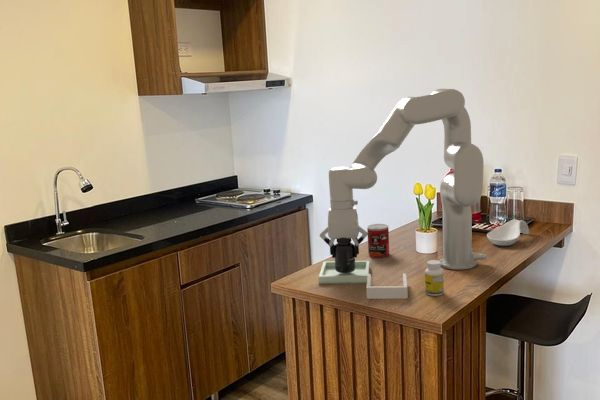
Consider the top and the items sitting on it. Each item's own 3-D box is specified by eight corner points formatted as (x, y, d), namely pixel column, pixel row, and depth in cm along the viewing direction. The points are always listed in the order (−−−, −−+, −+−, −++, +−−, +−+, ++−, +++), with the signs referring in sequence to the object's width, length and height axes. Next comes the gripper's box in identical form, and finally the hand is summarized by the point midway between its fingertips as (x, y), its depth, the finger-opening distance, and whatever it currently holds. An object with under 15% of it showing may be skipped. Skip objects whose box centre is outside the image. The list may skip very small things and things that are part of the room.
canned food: (366, 257, 213) (364, 228, 211) (371, 251, 221) (370, 223, 219) (386, 258, 211) (385, 229, 208) (391, 252, 218) (390, 223, 216)
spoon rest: (511, 250, 211) (511, 231, 210) (481, 245, 219) (481, 227, 218) (537, 235, 227) (538, 218, 226) (508, 232, 236) (509, 214, 234)
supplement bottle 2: (423, 290, 176) (422, 260, 175) (440, 289, 177) (439, 258, 175) (428, 297, 171) (427, 265, 169) (446, 295, 172) (445, 263, 170)
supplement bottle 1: (354, 273, 191) (352, 238, 188) (334, 273, 192) (331, 238, 190) (356, 267, 197) (354, 233, 195) (336, 267, 199) (334, 233, 196)
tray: (369, 267, 202) (369, 260, 201) (368, 283, 186) (367, 275, 186) (324, 268, 204) (323, 261, 204) (319, 283, 189) (318, 276, 188)
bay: (406, 283, 183) (405, 273, 183) (407, 298, 171) (407, 287, 170) (368, 284, 185) (367, 273, 184) (366, 298, 173) (366, 287, 172)
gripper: (368, 201, 193) (371, 252, 196) (317, 203, 195) (320, 253, 199) (368, 206, 185) (370, 259, 189) (314, 208, 188) (317, 260, 191)
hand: (344, 256), depth 194 cm, fingers closed on supplement bottle 1, 6 cm apart
